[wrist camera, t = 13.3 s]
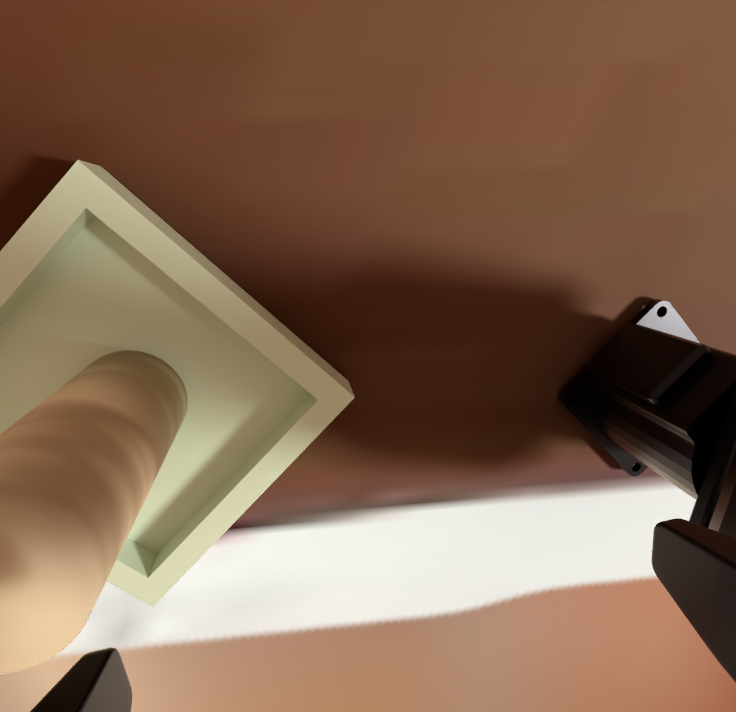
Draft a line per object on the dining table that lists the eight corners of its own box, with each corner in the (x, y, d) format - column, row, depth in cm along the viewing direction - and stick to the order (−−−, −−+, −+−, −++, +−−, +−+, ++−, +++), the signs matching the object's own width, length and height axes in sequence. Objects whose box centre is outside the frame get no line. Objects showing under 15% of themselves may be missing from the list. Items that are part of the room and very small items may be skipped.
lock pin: (209, 395, 19) (137, 573, 10) (143, 466, 19) (10, 705, 10) (121, 328, 18) (-61, 458, 8) (53, 405, 18) (-199, 613, 9)
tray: (348, 380, 20) (355, 397, 19) (164, 572, 21) (153, 606, 20) (101, 166, 17) (77, 159, 15) (-109, 411, 18) (-155, 434, 16)
